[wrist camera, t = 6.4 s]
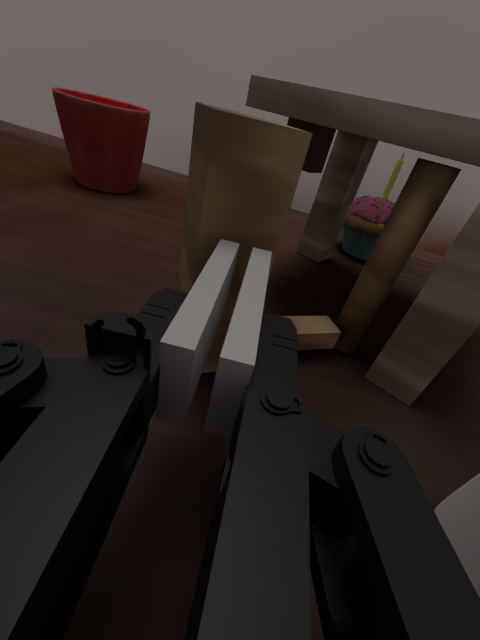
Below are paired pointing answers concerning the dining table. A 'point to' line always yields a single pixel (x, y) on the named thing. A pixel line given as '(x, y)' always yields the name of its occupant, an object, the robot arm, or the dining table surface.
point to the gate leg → (271, 214)
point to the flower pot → (102, 139)
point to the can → (464, 526)
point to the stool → (337, 197)
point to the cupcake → (367, 220)
